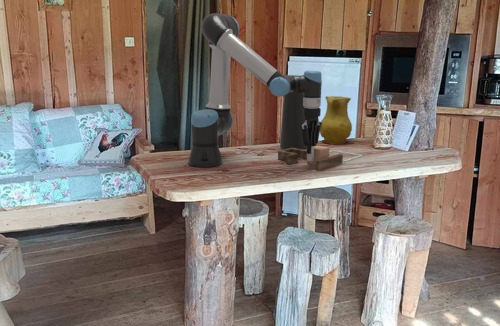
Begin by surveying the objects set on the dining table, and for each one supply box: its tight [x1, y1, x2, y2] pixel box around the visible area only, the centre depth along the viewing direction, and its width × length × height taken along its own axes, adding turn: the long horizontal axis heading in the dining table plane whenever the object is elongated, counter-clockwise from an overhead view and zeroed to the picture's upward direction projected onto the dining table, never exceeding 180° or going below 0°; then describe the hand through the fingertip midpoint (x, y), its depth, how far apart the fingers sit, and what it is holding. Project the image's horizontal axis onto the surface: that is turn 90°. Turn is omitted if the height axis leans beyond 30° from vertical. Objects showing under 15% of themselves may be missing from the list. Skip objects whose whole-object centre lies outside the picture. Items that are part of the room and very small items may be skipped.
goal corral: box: [329, 149, 364, 163], centre depth 233 cm, size 17×16×1 cm
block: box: [306, 145, 330, 166], centre depth 219 cm, size 7×7×7 cm
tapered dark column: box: [279, 93, 307, 150], centre depth 249 cm, size 14×14×29 cm
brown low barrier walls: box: [277, 148, 344, 172], centre depth 221 cm, size 26×18×4 cm
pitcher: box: [319, 95, 353, 145], centre depth 264 cm, size 17×19×25 cm
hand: (310, 160), depth 216 cm, fingers closed
